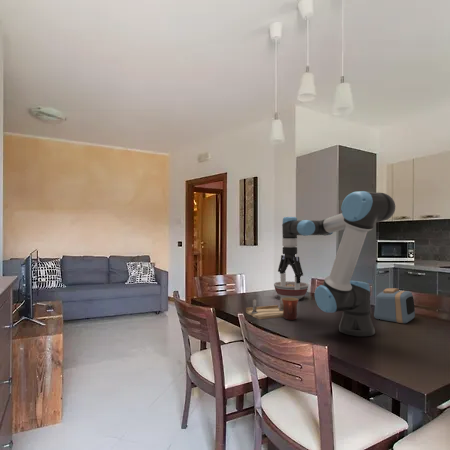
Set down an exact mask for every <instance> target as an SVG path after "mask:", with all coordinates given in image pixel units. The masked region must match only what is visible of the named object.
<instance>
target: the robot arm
mask: <svg viewBox="0 0 450 450" xmlns="http://www.w3.org/2000/svg"><path fill="white" fill-rule="evenodd" d="M340 210H341V213H338V214H335V215H333V216H330V217H326V218H325V219H320V220H310V219H303V220H302V219H300V220H298V218H297V217H296V216H283V218H282V225H281V226H282V227H281V228H282V231H281V232H282V246H283V247H282V255H281V256H280V262H279V265H278V269H277V272H279V274H280V276H279V277H280V282H281V286H286V282H287V281H286V279H287V278H286V275H287V274H286V270H287V269H288V267H289V266H290V267H291V269H292V271H293V273H294V282H295V290H300V282H301V277H302V276H304V272H303V269H302V265H301V261H300V257H299V256H296V255H297V254H298V236H305V237H306V236H330V235H332V234H333V233H335V232H340V231H343V233H342V237H341V240H340V242H339V246H338V249H337V251H336V255H335V258H334V262H333V264H332V267H331V270H330V273H329V275H327V276H325V277H324V280H323V284H320V285H319V286H317V287H316V288H315V290H314V300H315V303H316V305H317V307H318V308H319V309H320V310H321V311H322V312H324V313H336V312H342V315H341V319H340V322H339V324H338V330H339V332H340V333H342V334H345V335H347V336H353V337H371V336H374V335H375V333H376V331H375V326H374V323H373V319H372V317H371V289H370V288H371V286H370V284H369V282H365V281H361V280H360V281H359V280H352V278H353V274H354V271H355V269H356V266H357V263H358V260H359V256H360V254H361V251H362V249H363V247H364V243H365V240H366V237H367V234H368V232H370V231H372V230H373V229H374V226H375V224H376V223H380V222H384V221H387V220H390V219H391V218H392V217H393V215H394V214H395V211H396V202H395V201H394V199H393V197H392V196H390V195H389V194H387V193H383V192H374V191H365V190H361V191H360V190H359V191H353V192H351V193H348V195H346V196H345V198H344V199H343V201H342V204H341V209H340Z"/></svg>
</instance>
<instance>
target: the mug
mask: <svg viewBox="0 0 450 450" xmlns="http://www.w3.org/2000/svg"><path fill="white" fill-rule="evenodd" d="M299 300H300V299H297V298H290V297H287V298H282V302H283V317H282V318H283V319H284V320H287V321H295V320H297V318H298V303H299Z"/></svg>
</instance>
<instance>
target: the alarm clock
mask: <svg viewBox="0 0 450 450" xmlns="http://www.w3.org/2000/svg"><path fill="white" fill-rule="evenodd" d="M415 316H416V309H415V300H414V295H413V293H412V291H409V290H400V288H395V287H394V288H393V287H392V288H391V287H390V288H389V287H388V288H385V289H384V290H382V291H380V292H379V293H378V294H377V295H376V296H375V302H374V311H373V317H374V318H375V319H376V320H379V319H380V321H386V322H392V323H397V324H398V323H400V324H408V323H409V322H411V321H412V320H413V319H414V318H415Z"/></svg>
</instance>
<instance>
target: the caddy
mask: <svg viewBox="0 0 450 450" xmlns="http://www.w3.org/2000/svg"><path fill="white" fill-rule="evenodd" d="M279 297H280V296H279ZM282 298H283V297H280V298H279V305H278V304H274V305H272V304H271V305H263V306H257V299H252V306H250V307H245V313H246V314H247V315H250V316H252V317H253V318H255V319H257V320H265V319H267V320H269V319H277V318H284V317H283V302H282Z"/></svg>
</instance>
